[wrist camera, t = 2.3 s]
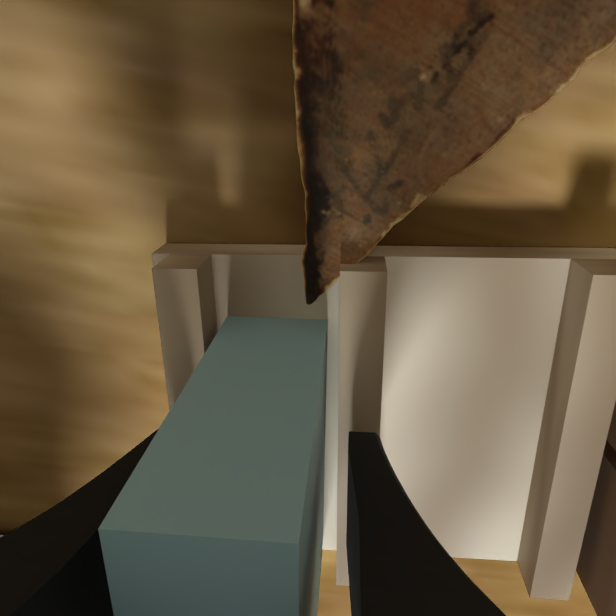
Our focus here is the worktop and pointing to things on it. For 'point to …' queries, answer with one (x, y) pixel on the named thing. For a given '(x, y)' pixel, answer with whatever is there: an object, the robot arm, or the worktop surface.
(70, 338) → the worktop surface
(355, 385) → the birch rack
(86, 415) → the worktop surface
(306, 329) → the teal panel
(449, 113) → the shard
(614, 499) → the walnut offcut
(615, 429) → the oak offcut
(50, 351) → the worktop surface
